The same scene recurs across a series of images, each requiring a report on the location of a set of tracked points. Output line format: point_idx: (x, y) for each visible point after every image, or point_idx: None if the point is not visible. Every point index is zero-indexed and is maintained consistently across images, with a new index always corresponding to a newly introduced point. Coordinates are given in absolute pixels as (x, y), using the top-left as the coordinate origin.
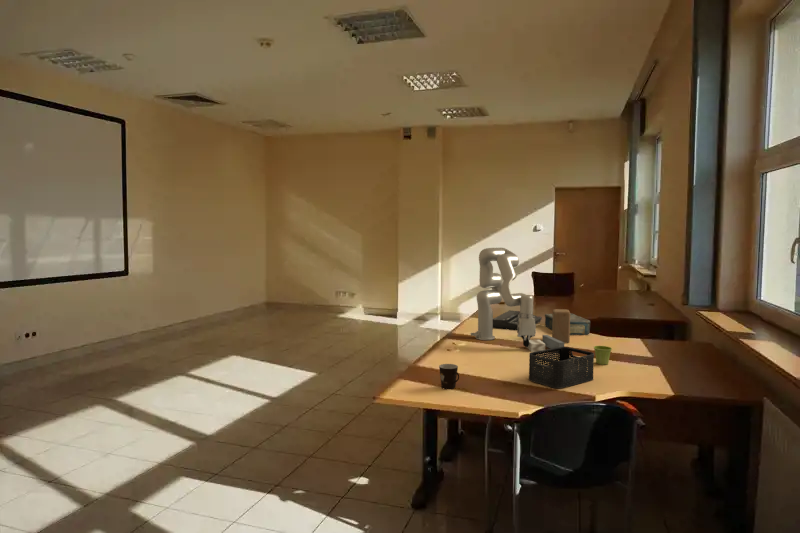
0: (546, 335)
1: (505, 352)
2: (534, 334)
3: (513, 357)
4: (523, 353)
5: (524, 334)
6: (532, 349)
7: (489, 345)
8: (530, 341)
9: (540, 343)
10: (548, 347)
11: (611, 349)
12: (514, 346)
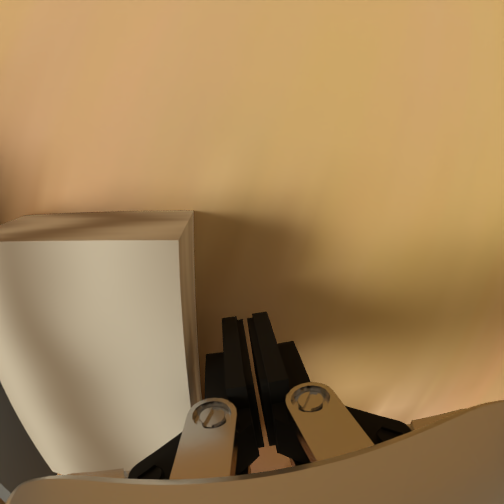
0: None
1: (487, 214)
2: (39, 478)
3: (460, 15)
4: (338, 133)
5: (431, 450)
6: (176, 216)
7: None
8: (163, 431)
9: (11, 288)
10: None
11: None
12: None
